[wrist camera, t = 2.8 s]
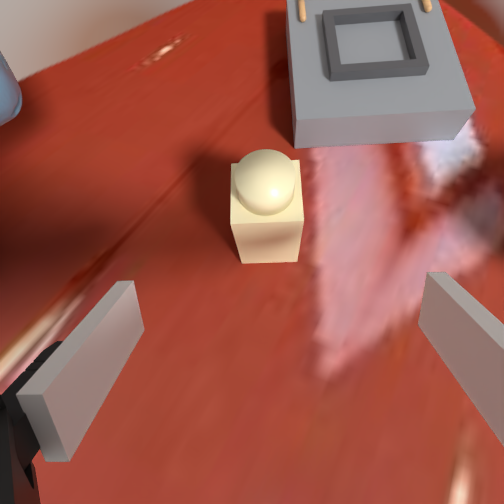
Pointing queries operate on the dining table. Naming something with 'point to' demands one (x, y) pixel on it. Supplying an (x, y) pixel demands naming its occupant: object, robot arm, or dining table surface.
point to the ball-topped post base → (373, 73)
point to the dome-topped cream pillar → (266, 207)
